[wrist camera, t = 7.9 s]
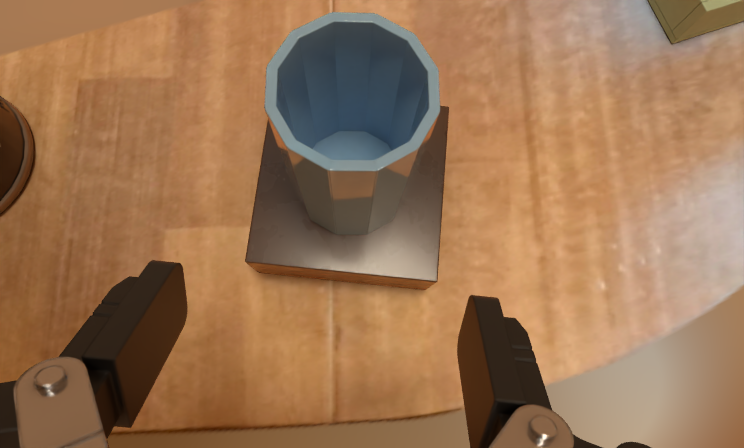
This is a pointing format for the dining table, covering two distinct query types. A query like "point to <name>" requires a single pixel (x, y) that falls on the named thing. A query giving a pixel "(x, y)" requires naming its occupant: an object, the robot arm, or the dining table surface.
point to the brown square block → (350, 252)
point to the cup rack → (696, 16)
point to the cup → (352, 117)
